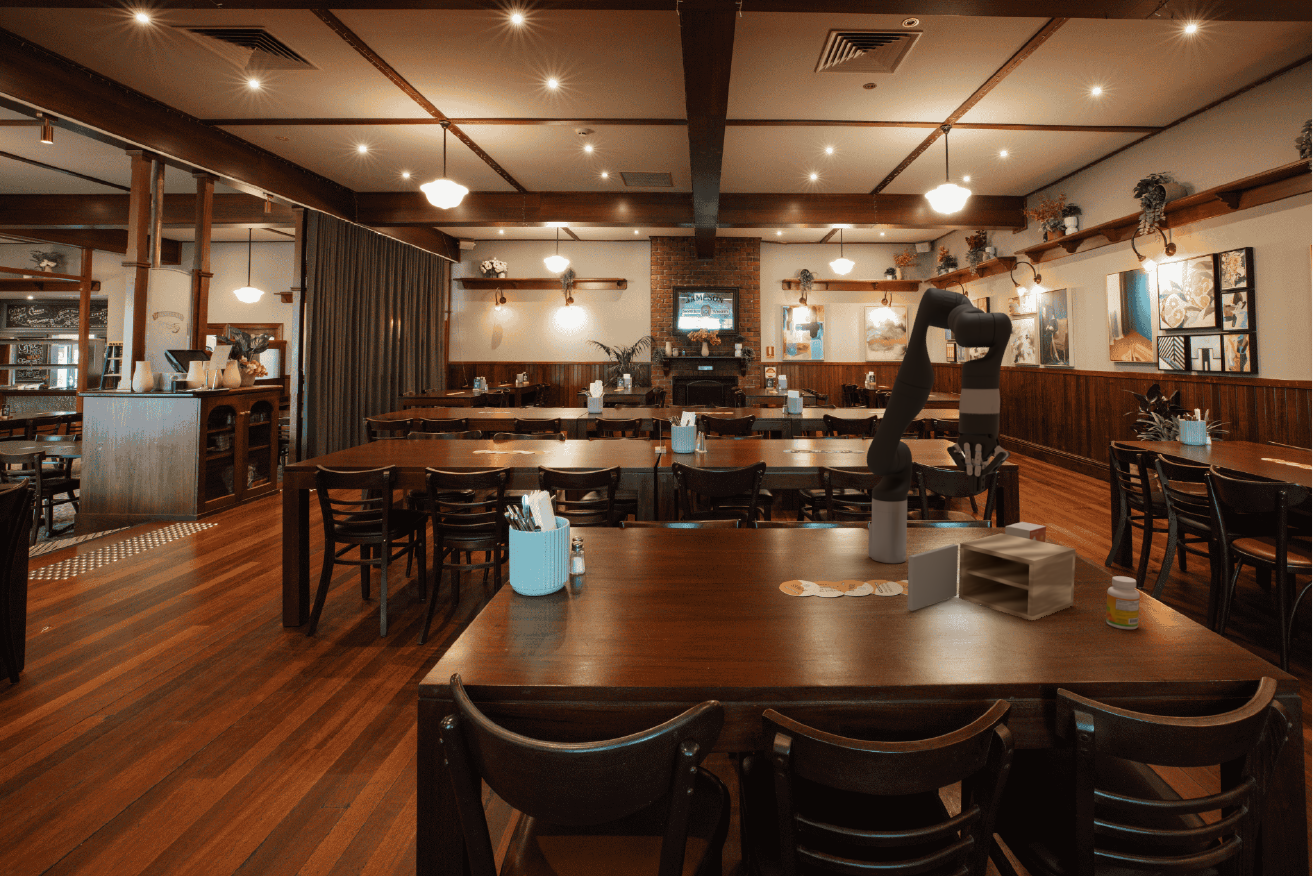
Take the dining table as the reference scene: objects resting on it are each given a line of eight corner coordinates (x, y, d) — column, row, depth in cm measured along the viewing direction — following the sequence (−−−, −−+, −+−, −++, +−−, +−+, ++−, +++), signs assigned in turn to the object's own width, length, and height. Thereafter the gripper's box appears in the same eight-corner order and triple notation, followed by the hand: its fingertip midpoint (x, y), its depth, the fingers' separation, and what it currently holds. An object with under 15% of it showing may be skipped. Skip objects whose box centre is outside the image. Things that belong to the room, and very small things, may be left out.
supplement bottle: (1105, 618, 138) (1108, 573, 137) (1137, 623, 135) (1140, 577, 134) (1105, 626, 134) (1108, 580, 133) (1138, 632, 131) (1141, 584, 130)
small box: (1028, 582, 162) (1030, 530, 161) (1002, 575, 167) (1004, 525, 166) (1044, 576, 166) (1046, 525, 165) (1019, 570, 172) (1021, 521, 170)
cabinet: (958, 598, 152) (960, 543, 150) (999, 585, 160) (1001, 533, 159) (1032, 621, 137) (1034, 560, 136) (1072, 606, 145) (1075, 548, 144)
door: (947, 593, 154) (948, 543, 153) (956, 595, 152) (958, 545, 151) (902, 607, 145) (903, 554, 144) (912, 610, 143) (913, 557, 142)
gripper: (1021, 411, 132) (1017, 495, 134) (959, 408, 143) (956, 486, 145) (1001, 413, 128) (997, 500, 130) (939, 410, 139) (936, 490, 141)
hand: (975, 492), depth 137 cm, fingers closed
